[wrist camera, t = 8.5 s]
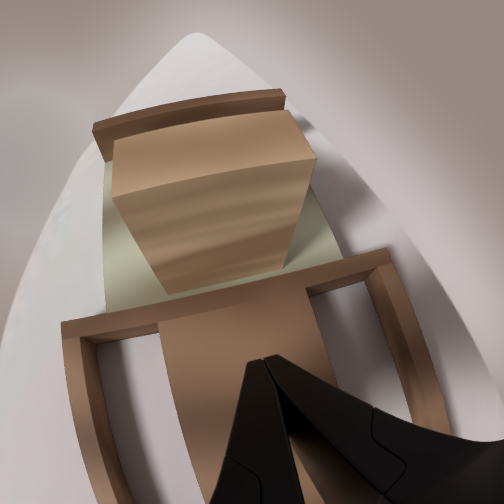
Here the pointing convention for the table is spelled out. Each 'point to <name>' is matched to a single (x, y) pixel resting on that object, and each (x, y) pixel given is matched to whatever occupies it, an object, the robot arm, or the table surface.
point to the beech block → (213, 196)
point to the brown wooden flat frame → (226, 319)
